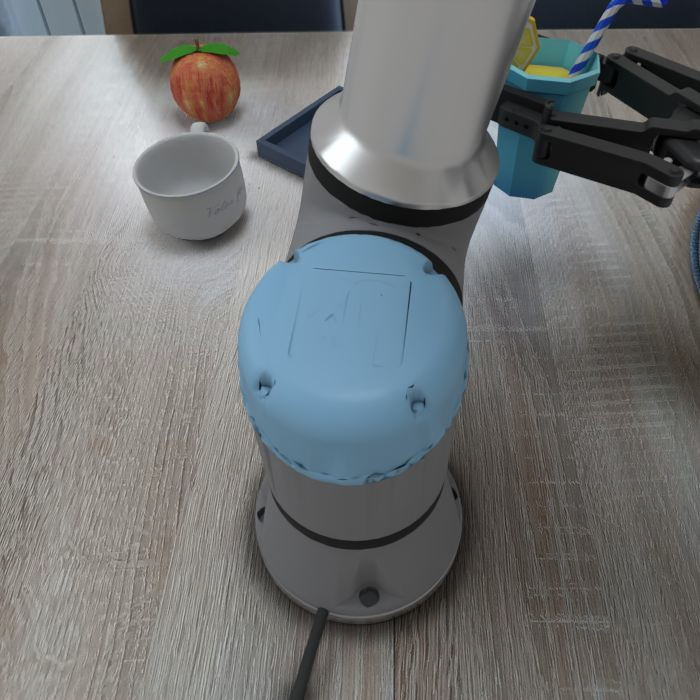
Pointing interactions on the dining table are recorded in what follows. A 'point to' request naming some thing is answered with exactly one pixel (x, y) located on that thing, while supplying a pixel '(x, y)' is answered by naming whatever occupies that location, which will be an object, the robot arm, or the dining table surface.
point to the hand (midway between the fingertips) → (498, 70)
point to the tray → (292, 138)
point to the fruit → (204, 80)
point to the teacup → (192, 183)
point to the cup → (549, 96)
